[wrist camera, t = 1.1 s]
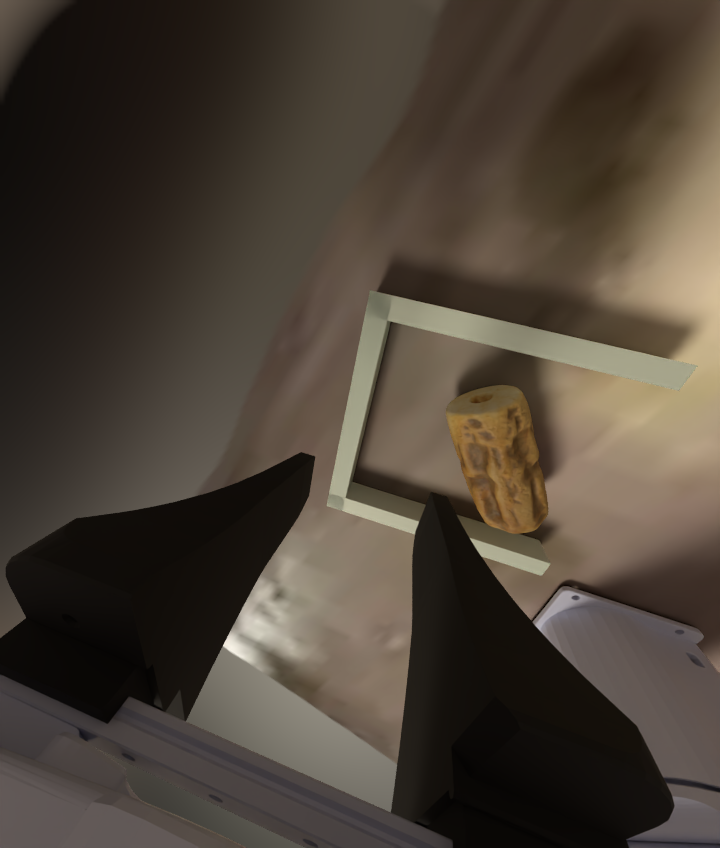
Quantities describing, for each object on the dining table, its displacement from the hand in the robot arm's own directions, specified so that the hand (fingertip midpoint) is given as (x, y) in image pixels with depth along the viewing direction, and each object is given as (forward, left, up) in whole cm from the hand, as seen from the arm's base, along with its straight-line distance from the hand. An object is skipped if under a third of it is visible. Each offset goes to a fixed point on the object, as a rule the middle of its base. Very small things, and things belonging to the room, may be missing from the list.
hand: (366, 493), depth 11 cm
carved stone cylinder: (-7, 0, -9) cm, 11 cm away
